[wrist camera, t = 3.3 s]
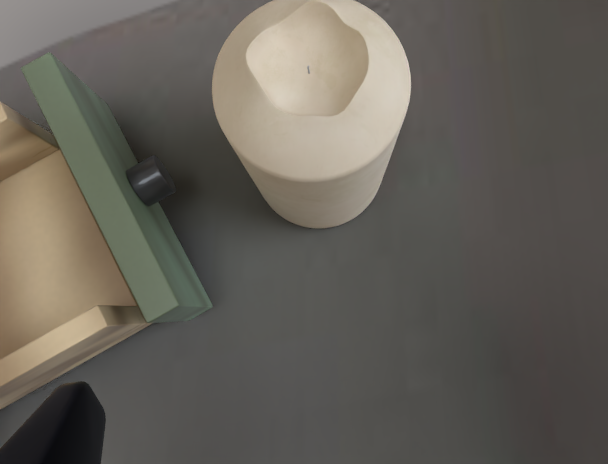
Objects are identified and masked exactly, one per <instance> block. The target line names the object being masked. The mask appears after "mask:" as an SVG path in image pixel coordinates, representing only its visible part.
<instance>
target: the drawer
mask: <svg viewBox="0 0 608 464" xmlns="http://www.w3.org/2000/svg"><path fill="white" fill-rule="evenodd" d="M21 70H22V72H23V74H24V76H25V78H26V80H27V82H28V84H29V86H30V88H31V90H32V92H33V94H34V96H35V98H36V100H37V102H38V104H39V106H40V109H41V111H42V113H43V115H44V117H45V119H46V121H47V123H48V125H49V127H50V129H51V131H52V133H53V135H52V134H51V133H50V132H48V131H46V130H45V129H43V128H42V127H40V126H38V125H37V124H35V123H34V122H32V121H30V120H29V119H27V118H26V117H24V116H22V115H21V114H19V113H18V112H16V111H14V110H13V109H11V108H10V107H8V106H7V105H5V104H3V103H2V102H0V409H2V408H4V407H6V406H8V405H9V404H11V403H13V402H15V401H16V400H18V399H20V398H22V397H23V396H25V395H27V394H29V393H31V392H32V391H34V390H36V389H38V388H39V387H41V386H43V385H45V384H46V383H48V382H50V381H52V380H53V379H55V378H57V377H59V376H61V375H62V374H64V373H66V372H68V371H69V370H71V369H73V368H75V367H76V366H78V365H80V364H82V363H84V362H85V361H87V360H89V359H91V358H92V357H94V356H96V355H98V354H99V353H101V352H103V351H105V350H107V349H108V348H110V347H112V346H114V345H115V344H117V343H119V342H121V341H122V340H124V339H126V338H128V337H129V336H131V335H133V334H135V333H137V332H138V331H140V330H142V329H144V328H145V327H147V326H149V325H151V324H152V323H159V322H175V321H189V320H191V319H193V318H195V317H196V316H198V315H200V314H202V313H203V312H205V311H207V310H209V309H210V308H212V307H213V305H212V303H211V301H210V300H209V298H208V296H207V294H206V292H205V290H204V288H203V286H202V284H201V282H200V280H199V278H198V277H197V275H196V273H195V271H194V269H193V267H192V265H191V263H190V261H189V259H188V257H187V256H186V254H185V252H184V250H183V248H182V246H181V244H180V242H179V240H178V238H177V236H176V234H175V233H174V231H173V229H172V227H171V225H170V223H169V221H168V219H167V217H166V215H165V213H164V212H163V210H162V208H161V206H160V204H159V202H158V201H160V200H162V199H164V198H166V197H167V196H169V195H171V194H173V193H175V192H176V187H175V184H174V182H173V180H172V178H171V176H170V175H169V173H168V171H167V170H166V168H165V167H164V165H163V164H162V162H161V161H160V160H159V159H158V158H157V157H156V156H155V155H153V156H151V157H149V158H147V159H145V160H144V161H142V162H140V163H138V162H137V160H136V158H135V156H134V154H133V152H132V150H131V148H130V146H129V145H128V143H127V141H126V139H125V137H124V135H123V133H122V131H121V129H120V127H119V125H118V124H117V122H116V120H115V118H114V116H113V114H112V112H111V110H110V108H109V106H108V105H107V104H106V103H105V102H104V101H103V100H102V99H101V98H100V97H99V96H98V95H96V94H95V93H94V92H93V91H92V90H91V89H90V88H89V87H88V86H87V85H85V84H84V83H83V82H82V81H81V80H80V79H79V78H78V77H77V76H76V75H74V74H73V73H72V72H71V71H70V70H69V69H68V68H67V67H66V66H65V65H63V64H62V63H61V62H60V61H59V60H58V59H57V58H56V57H55V56H54V55H52V54H51V53H50V52H49V53H47V54H45V55H43V56H41V57H39V58H37V59H36V60H34V61H32V62H30V63H28V64H27V65H25V66H23V67H21Z"/></svg>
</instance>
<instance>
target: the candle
mask: <svg viewBox="0 0 608 464" xmlns="http://www.w3.org/2000/svg"><path fill="white" fill-rule="evenodd" d="M410 91H411V75H410V69H409V64H408V60H407V57H406V54H405V51H404V49H403V47H402V45H401V43H400V41H399V39H398V38H397V36H396V35H395V33H394V32H393V30H392V29H391V28H390V27H389V25H388V24H387V23H386V22H385V21H384V20H383V19H382V18H381V17H379V16H378V15H377V14H376V13H375V12H373V11H372V10H370V9H369V8H367V7H366V6H364V5H362V4H360V3H358V2H356V1H354V0H274V1H271V2H269V3H267V4H265V5H263V6H262V7H260V8H258V9H256V10H255V11H254V12H252V13H251V14H250V15H248V16H247V17H246V18H245V19H244V20H243V21H241V22H240V23H239V24H238V25H237V26H236V28H235V29H234V30H233V31H232V33H231V34H230V35H229V37H228V38H227V40H226V41H225V43H224V45H223V46H222V49H221V51H220V53H219V55H218V58H217V61H216V64H215V67H214V73H213V79H212V98H213V105H214V109H215V113H216V117H217V119H218V122H219V124H220V127H221V129H222V131H223V132H224V134H225V136H226V138H227V139H228V141H229V143H230V144H231V146H232V147H233V149H234V151H235V152H236V154H237V155H238V157H239V159H240V160H241V162H242V164H243V165H244V167H245V168H246V170H247V172H248V173H249V175H250V176H251V178H252V180H253V181H254V183H255V184H256V186H257V188H258V189H259V191H260V192H261V194H262V196H263V197H264V199H265V200H266V201H267V203H268V204H269V205H270V207H271V208H272V209H273V210H274V211H275V212H276V213H277V214H279V215H280V216H281V217H283V218H284V219H286V220H288V221H290V222H291V223H294V224H296V225H299V226H303V227H307V228H330V227H335V226H338V225H341V224H344V223H346V222H348V221H350V220H352V219H353V218H355V217H356V216H358V215H359V214H360V213H362V212H363V211H364V210H365V209H366V208H367V207H368V205H369V204H370V203H371V201H372V200H373V198H374V197H375V195H376V193H377V191H378V189H379V187H380V184H381V182H382V179H383V176H384V173H385V171H386V168H387V165H388V162H389V160H390V157H391V154H392V151H393V148H394V146H395V143H396V140H397V137H398V135H399V132H400V129H401V126H402V123H403V121H404V118H405V115H406V112H407V108H408V104H409V100H410Z"/></svg>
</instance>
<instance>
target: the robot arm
mask: <svg viewBox="0 0 608 464" xmlns="http://www.w3.org/2000/svg"><path fill="white" fill-rule="evenodd" d="M105 422H106V419H105V412H104V409H103V407H102V405H101V404H100V402H99V400H98V399H97V397H96V395H95V394H94V392H93V391H92V389H91V387H90V386H89V384H87V383H86V382H74V383H66V384H63V385H60V386H59V387H58V388H57V389H56V390H55V391H54V392H53V393H52V394H51V395H50V396H49V397H48V398H47V399H46V400H45V401H44V402H43V404H42V405H41V406H40V407H39V408H38V409H37V410H36V411H35V412H34V413H33V414H32V415H31V416H30V417H29V419H28V420H27V421H26V422H25V423H24V424H23V425H22V426H21V427H20V428H19V429H18V430H17V431H16V432H15V434H14V435H13V436H12V437H11V438H10V439H9V440H8V441H7V442H6V443H5V444H4V445H3V446H2V447H1V448H0V464H101V456H102V447H103V439H104V431H105Z"/></svg>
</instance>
